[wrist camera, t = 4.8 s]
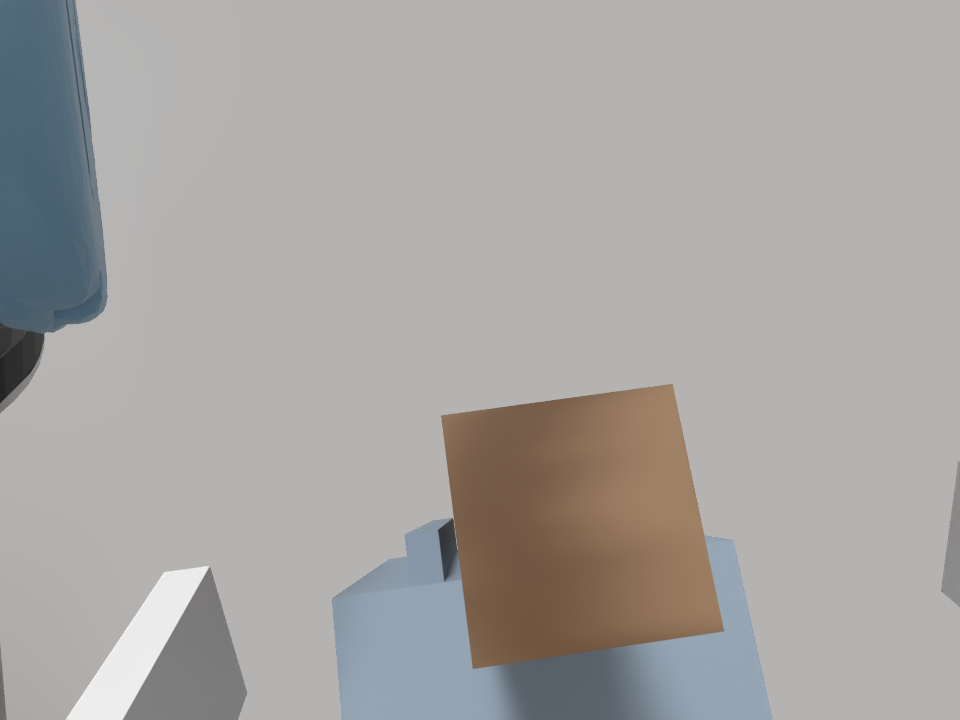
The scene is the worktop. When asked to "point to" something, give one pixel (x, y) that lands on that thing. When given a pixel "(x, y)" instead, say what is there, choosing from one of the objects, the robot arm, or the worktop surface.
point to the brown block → (577, 526)
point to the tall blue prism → (537, 683)
